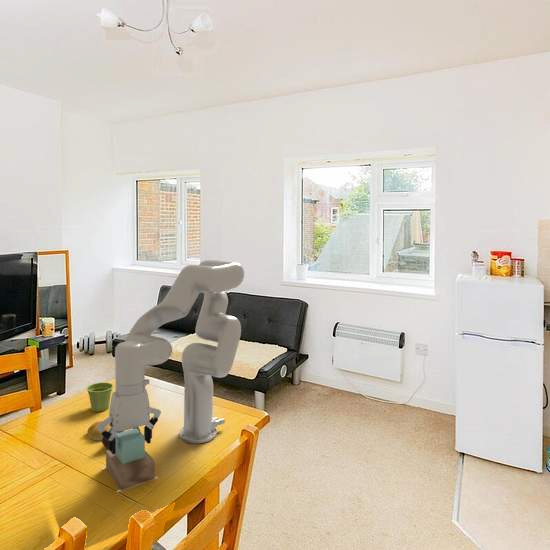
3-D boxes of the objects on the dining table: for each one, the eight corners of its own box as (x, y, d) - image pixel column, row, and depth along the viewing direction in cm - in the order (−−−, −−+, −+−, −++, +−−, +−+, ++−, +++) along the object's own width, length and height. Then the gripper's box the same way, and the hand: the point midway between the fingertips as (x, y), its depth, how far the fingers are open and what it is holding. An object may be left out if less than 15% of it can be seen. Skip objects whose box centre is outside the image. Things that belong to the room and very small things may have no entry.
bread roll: (93, 444, 132) (93, 432, 132) (84, 433, 139) (84, 422, 138) (119, 436, 137) (119, 425, 137) (109, 426, 144) (109, 415, 144)
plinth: (137, 457, 123) (137, 441, 122) (154, 478, 112) (154, 461, 112) (106, 467, 117) (105, 450, 116) (121, 490, 107) (121, 472, 106)
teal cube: (136, 447, 118) (136, 428, 118) (144, 457, 114) (144, 436, 113) (115, 454, 115) (115, 433, 114) (122, 464, 110) (122, 442, 109)
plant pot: (101, 415, 152) (101, 393, 151) (81, 411, 154) (80, 389, 153) (118, 406, 160) (118, 384, 160) (98, 402, 163) (98, 381, 162)
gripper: (155, 376, 121) (155, 432, 122) (92, 389, 110) (93, 450, 112) (165, 384, 115) (165, 443, 117) (101, 399, 104) (101, 463, 106)
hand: (130, 446), depth 114 cm, fingers open, 9 cm apart
